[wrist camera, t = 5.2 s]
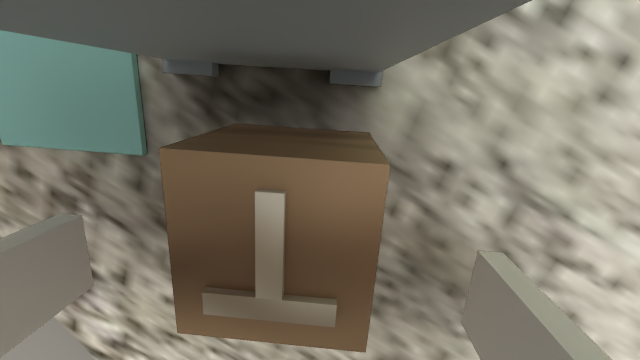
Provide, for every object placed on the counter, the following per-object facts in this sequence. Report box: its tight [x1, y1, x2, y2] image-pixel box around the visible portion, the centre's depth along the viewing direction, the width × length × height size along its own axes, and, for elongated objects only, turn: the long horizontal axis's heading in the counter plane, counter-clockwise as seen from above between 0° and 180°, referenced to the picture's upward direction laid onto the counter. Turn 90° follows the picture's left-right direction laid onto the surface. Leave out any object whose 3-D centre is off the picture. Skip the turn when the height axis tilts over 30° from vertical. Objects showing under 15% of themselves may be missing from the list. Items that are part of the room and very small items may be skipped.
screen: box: [0, 0, 531, 87], centre depth 8 cm, size 2×10×14 cm, turn 87°
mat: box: [0, 30, 147, 155], centre depth 15 cm, size 8×8×1 cm
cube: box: [159, 124, 390, 352], centre depth 13 cm, size 7×7×7 cm
